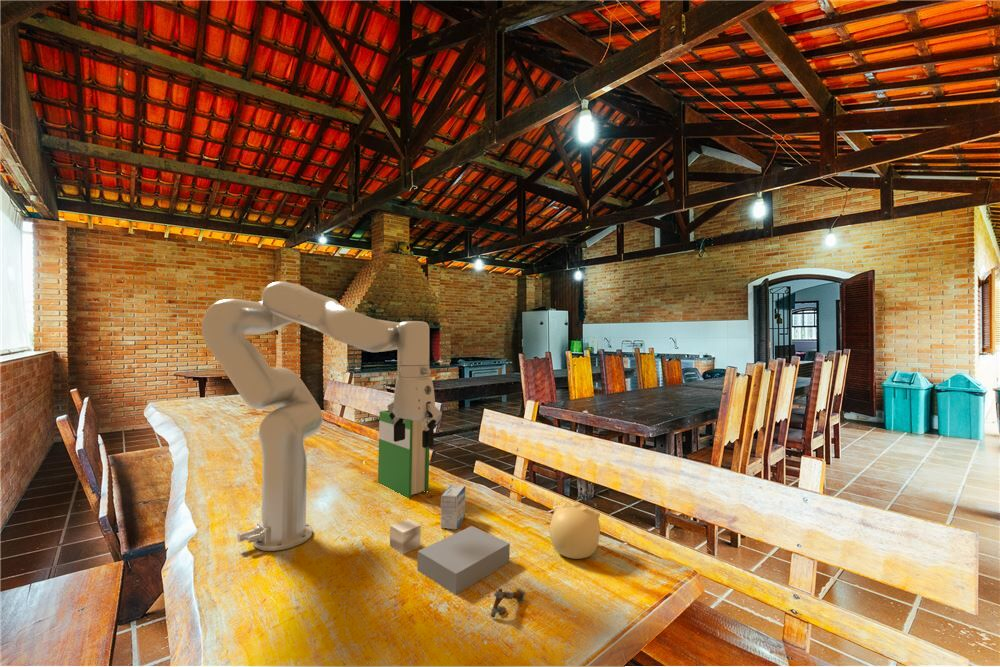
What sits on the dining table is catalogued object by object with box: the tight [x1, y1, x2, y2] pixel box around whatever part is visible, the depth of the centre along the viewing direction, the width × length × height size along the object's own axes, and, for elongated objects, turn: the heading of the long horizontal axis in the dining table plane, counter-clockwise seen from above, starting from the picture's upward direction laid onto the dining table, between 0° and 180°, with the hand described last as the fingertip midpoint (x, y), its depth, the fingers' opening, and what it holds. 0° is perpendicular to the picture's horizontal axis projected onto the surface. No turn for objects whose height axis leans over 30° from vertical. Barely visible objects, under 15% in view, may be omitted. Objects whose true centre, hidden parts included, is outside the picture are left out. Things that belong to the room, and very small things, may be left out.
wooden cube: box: [389, 518, 422, 555], centre depth 96 cm, size 5×5×5 cm
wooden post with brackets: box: [490, 587, 526, 619], centre depth 75 cm, size 2×8×4 cm, turn 137°
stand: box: [416, 525, 511, 595], centre depth 89 cm, size 16×12×4 cm
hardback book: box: [377, 409, 430, 499], centre depth 133 cm, size 18×7×24 cm, turn 47°
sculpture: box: [549, 501, 601, 560], centre depth 96 cm, size 12×12×11 cm
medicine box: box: [440, 484, 466, 530], centre depth 109 cm, size 8×4×9 cm, turn 168°
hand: (413, 443), depth 99 cm, fingers open, 9 cm apart
